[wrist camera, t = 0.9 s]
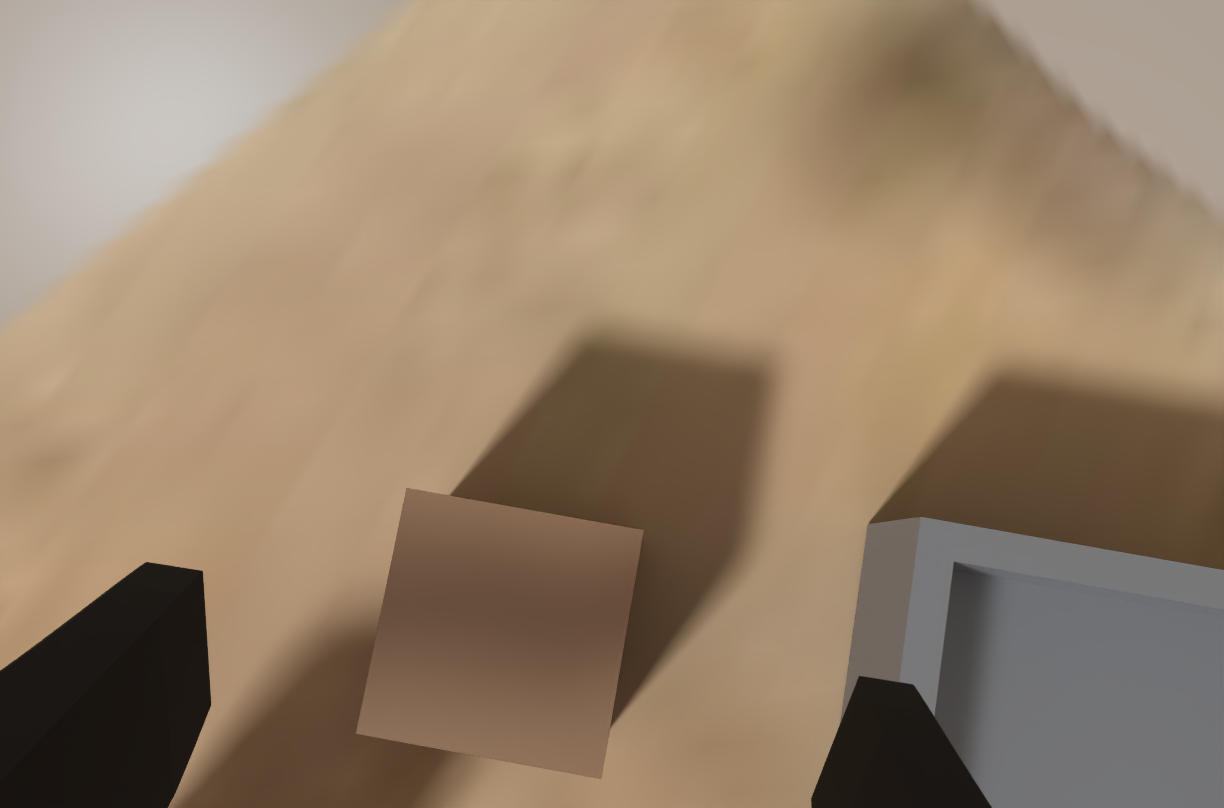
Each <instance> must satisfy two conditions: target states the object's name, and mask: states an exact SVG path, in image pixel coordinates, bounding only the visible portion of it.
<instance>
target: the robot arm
mask: <svg viewBox="0 0 1224 808" xmlns="http://www.w3.org/2000/svg"><path fill="white" fill-rule="evenodd" d="M210 706H211V694H210V678H209V662H208V646H207V630H206V614H205V599H204V583H203V571H199V570H193V569H187V568H181V567H174V566H168V565H162V564H156V563H149V562H146V563H144V564H143V565H141V566H140V567H138V568H137V569H136V570H134V571H133V572H132V573H130V574H129V575H127V576H126V577H125V578H123V579H122V580H121V581H119V582H118V583H117V584H115V585H114V586H113V587H111V588H110V589H109V590H108V591H106V592H105V593H104V594H102V595H101V596H100V597H98V598H97V599H96V600H94V601H93V602H92V603H90V604H89V605H88V606H87V607H85V608H84V609H83V610H81V611H80V612H79V613H77V614H76V615H75V616H73V617H72V618H71V619H69V620H68V621H67V622H66V623H64V624H63V625H62V626H60V627H59V628H58V629H56V630H55V631H54V632H52V633H51V634H50V635H48V636H47V637H46V638H44V639H43V640H42V641H40V642H39V643H38V644H36V645H35V646H34V647H32V648H31V649H30V650H28V651H27V652H25V653H24V654H23V655H21V656H20V657H19V658H17V659H16V660H14V661H13V662H12V663H10V664H9V665H8V666H6V667H5V668H3V669H2V670H1V671H0V808H168V806H169V804H170V802H171V800H172V798H173V797H174V795H175V793H176V790H177V788H178V786H179V783H180V781H181V778H182V776H183V774H184V771H185V769H186V767H187V764H188V762H189V759H190V757H191V755H192V752H193V750H194V747H195V745H196V742H197V739H198V737H199V734H200V732H201V729H202V727H203V724H204V722H205V719H206V717H207V714H208V711H209V709H210ZM811 802H812V808H992V806H991V805H990V803H989V802H988V800H987V799H986V797H985V796H984V794H983V793H982V791H981V790H980V788H979V786H978V785H977V783H976V782H975V780H974V779H973V777H972V775H971V774H970V772H969V771H968V769H967V768H966V766H965V765H964V763H963V761H962V760H961V758H960V757H959V755H958V753H957V752H956V750H955V749H954V747H953V745H952V744H951V742H950V741H949V739H948V737H947V736H946V734H945V733H944V731H943V729H942V728H941V726H940V725H939V723H938V721H937V720H936V718H935V717H934V715H933V714H932V712H931V710H930V709H929V707H928V706H927V704H926V702H925V701H924V699H923V698H922V696H921V695H920V693H919V692H918V690H917V689H916V687H915V686H914V684H908V683H902V682H896V681H889V680H883V679H877V678H870V677H864V676H859V677H858V679H857V682H856V685H855V687H854V690H853V692H852V695H851V698H850V700H849V703H848V705H847V708H846V710H845V713H844V716H843V718H842V721H841V723H840V726H839V728H838V731H837V734H836V736H835V739H834V741H833V744H832V746H831V749H830V752H829V754H828V757H827V759H826V762H825V764H824V767H823V770H822V772H821V775H820V777H819V780H818V783H817V785H816V788H815V790H814V793H813V795H812V798H811Z"/></svg>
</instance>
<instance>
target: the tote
mask: <svg viewBox="0 0 1224 808" xmlns="http://www.w3.org/2000/svg"><path fill="white" fill-rule="evenodd" d="M859 676H864V677H870V678H877V679H883V680H889V681H896V682H902V683H908V684H914V686H915V687H916V689H917V690H918V692H919V693H920V695H921V696H922V698H923V699H924V701H925V702H926V704H927V706H928V707H929V709H930V710H931V712H932V714H933V715H934V717H935V718H936V720H937V721H938V723H939V725H940V726H941V728H942V729H943V731H944V733H945V734H946V736H947V737H948V739H949V741H950V742H951V744H952V745H953V747H954V749H955V750H956V752H957V753H958V755H959V757H960V758H961V760H962V761H963V763H964V765H965V766H966V768H967V769H968V771H969V772H970V774H971V775H972V777H973V779H974V780H975V782H976V783H977V785H978V786H979V788H980V790H981V791H982V793H983V794H984V796H985V797H986V799H987V800H988V802H989V803H990V805H991V806H992V808H1224V570H1220V569H1215V568H1209V567H1203V566H1198V565H1192V564H1186V563H1181V562H1175V561H1169V560H1164V559H1158V558H1152V557H1147V556H1141V555H1135V554H1130V553H1124V552H1118V551H1113V550H1107V549H1101V548H1095V547H1090V546H1084V545H1078V544H1073V543H1067V542H1061V541H1056V540H1050V539H1044V538H1039V537H1033V536H1027V535H1022V534H1016V533H1010V532H1005V531H999V530H993V529H988V528H982V527H976V526H971V525H965V524H959V523H954V522H948V521H942V520H937V519H931V518H925V517H915V518H908V519H901V520H894V521H887V522H879V523H872V524H868V528H867V535H866V543H865V550H864V557H863V564H862V571H861V579H860V586H859V593H858V600H857V608H856V615H855V622H854V629H853V637H852V644H851V651H850V658H849V665H848V673H847V680H846V687H845V694H844V702H843V709H842V716H841V721H842V718H843V716H844V713H845V710H846V708H847V705H848V703H849V700H850V698H851V695H852V692H853V690H854V687H855V685H856V682H857V679H858V677H859Z"/></svg>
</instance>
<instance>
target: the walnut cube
mask: <svg viewBox="0 0 1224 808" xmlns="http://www.w3.org/2000/svg"><path fill="white" fill-rule="evenodd" d="M643 532H644V530H640V529H635V528H629V527H623V526H618V525H612V524H606V523H601V522H595V521H590V520H584V519H578V518H573V517H567V516H562V515H556V514H550V513H545V512H539V511H533V510H528V509H522V508H517V507H511V506H505V505H500V504H494V503H488V502H483V501H477V500H472V499H466V498H460V497H455V496H449V495H443V494H438V493H432V492H427V491H421V490H415V489H410V488H406V493H405V498H404V503H403V508H402V512H401V517H400V522H399V527H398V532H397V537H396V542H395V546H394V551H393V556H392V561H391V566H390V571H389V575H388V580H387V585H386V590H385V595H384V600H383V605H382V609H381V614H380V619H379V624H378V629H377V634H376V638H375V643H374V648H373V653H372V658H371V663H370V667H369V672H368V677H367V682H366V687H365V692H364V697H363V701H362V706H361V711H360V716H359V721H358V726H357V730H356V734H360V735H365V736H371V737H376V738H382V739H387V740H393V741H398V742H403V743H409V744H414V745H420V746H425V747H430V748H436V749H441V750H447V751H452V752H458V753H463V754H468V755H474V756H479V757H485V758H490V759H496V760H501V761H506V762H512V763H517V764H523V765H528V766H533V767H539V768H544V769H550V770H555V771H561V772H566V773H571V774H577V775H582V776H588V777H593V778H598V779H601V778H602V772H603V766H604V760H605V754H606V749H607V743H608V737H609V731H610V725H611V719H612V714H613V708H614V702H615V696H616V690H617V684H618V678H619V673H620V667H621V661H622V655H623V649H624V643H625V637H626V632H627V626H628V620H629V614H630V608H631V602H632V597H633V591H634V585H635V579H636V573H637V567H638V561H639V556H640V550H641V544H642V538H643Z"/></svg>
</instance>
